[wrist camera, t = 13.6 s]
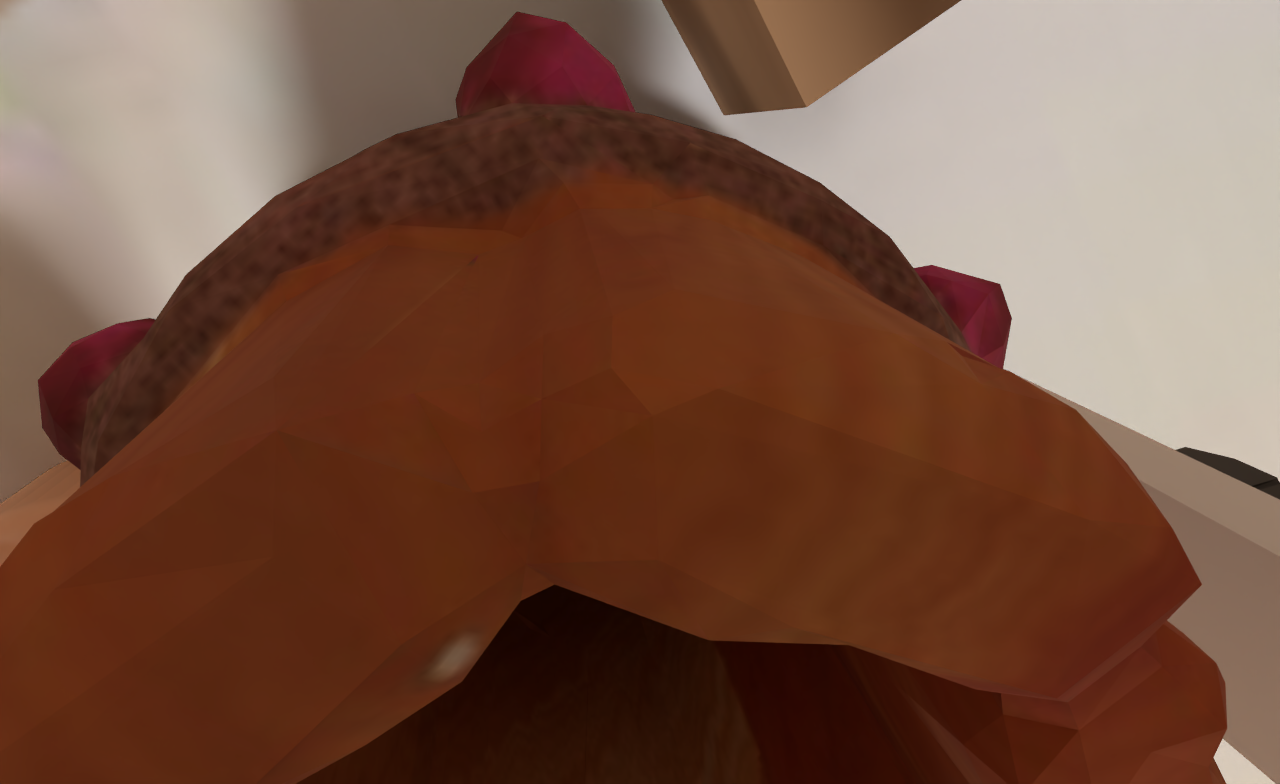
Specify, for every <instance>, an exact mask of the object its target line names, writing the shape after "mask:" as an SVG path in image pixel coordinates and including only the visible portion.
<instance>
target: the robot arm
mask: <svg viewBox="0 0 1280 784" xmlns="http://www.w3.org/2000/svg"><path fill="white" fill-rule="evenodd" d="M1020 378H1021V377H1020ZM1022 379H1023V378H1022ZM1024 380H1026V379H1024ZM1026 381H1027V382H1029V383H1031V384H1032V385H1034V386H1036V387H1038V388H1039V389H1041V390H1043V391H1045V392H1046V393H1048V394H1050V395H1051V396H1053V397H1055V398H1057V399H1058V400H1060V401H1062V402H1063V403H1065V404H1067V405H1069V406H1070V407H1072V408H1074V409H1076V410H1077V411H1078V412H1079V413H1080V414H1081V415H1082V416H1083V417H1084V419H1085V420H1086V421H1087V422H1088V423H1089V424H1090V425H1091V426H1092V427H1093V428H1094V429H1095V430H1096V431H1097V432H1098V433H1099V434H1100V436H1101V437H1102V438H1103V439H1104V440H1105V441H1106V442H1107V443H1108V444H1109V445H1110V446H1111V447H1112V448H1113V449H1114V450H1115V451H1116V453H1117V454H1118V455H1119V456H1120V457H1121V458H1122V459H1123V460H1124V461H1125V462H1126V463H1127V464H1128V466H1129V467H1130V469H1131V470H1132V471H1133V473H1134V474H1135V476H1136V477H1137V479H1138V480H1139V481H1140V483H1141V484H1142V486H1143V487H1144V488H1145V490H1146V491H1147V493H1148V494H1149V496H1150V497H1151V498H1152V500H1153V501H1154V503H1155V504H1156V505H1157V507H1158V508H1159V510H1160V511H1161V513H1162V514H1163V515H1164V517H1165V518H1166V520H1167V521H1168V523H1169V524H1170V525H1171V527H1172V528H1173V530H1174V532H1175V534H1176V536H1177V538H1178V540H1179V542H1180V543H1181V545H1182V547H1183V549H1184V551H1185V553H1186V555H1187V557H1188V559H1189V561H1190V562H1191V564H1192V566H1193V568H1194V570H1195V572H1196V574H1197V576H1198V578H1199V579H1200V581H1201V583H1202V585H1201V586H1200V587H1199V588H1198V589H1197V590H1196V591H1195V592H1194V593H1193V594H1192V595H1191V596H1190V597H1189V598H1188V599H1187V600H1186V601H1185V602H1184V603H1183V605H1182V606H1181V607H1180V608H1179V609H1178V610H1177V611H1176V612H1175V613H1174V614H1173V615H1172V616H1171V617H1170V618H1169V619H1168V620H1167V621H1168V622H1170V623H1171V624H1172V625H1174V626H1175V627H1176V628H1178V629H1179V630H1180V631H1181V632H1183V633H1184V634H1185V635H1186V636H1187V637H1188V638H1189V639H1190V640H1192V641H1193V642H1194V643H1195V644H1196V645H1197V646H1198V647H1199V648H1200V649H1202V650H1203V651H1204V652H1205V653H1206V654H1207V655H1208V656H1209V657H1210V658H1212V659H1213V660H1214V661H1215V662H1216V663H1217V666H1218V668H1219V670H1220V672H1221V674H1222V677H1223V679H1224V681H1225V686H1226V709H1227V730H1226V732H1225V734H1224V736H1223V739H1224V740H1225V741H1226V742H1228V743H1229V744H1230V745H1231V746H1232V747H1234V748H1235V749H1236V750H1237V751H1238V752H1239V753H1241V754H1242V755H1243V756H1244V757H1245V758H1246V759H1248V760H1249V761H1250V762H1251V763H1252V764H1254V765H1255V766H1256V767H1257V768H1258V769H1259V770H1261V771H1262V772H1263V773H1264V774H1265V775H1267V776H1268V777H1269V778H1270V779H1271V780H1272V781H1274V782H1275V783H1276V784H1280V482H1279V481H1278V478H1277V477H1274V476H1272V475H1270V474H1268V473H1265V472H1263V471H1261V470H1259V469H1256V468H1254V467H1252V466H1250V465H1247V464H1245V463H1243V462H1241V461H1238V460H1236V459H1233V458H1229V457H1225V456H1221V455H1216V454H1212V453H1208V452H1204V451H1200V450H1196V449H1191V448H1187V447H1184V448H1181V449H1177V450H1174V449H1172V448H1169V447H1167V446H1165V445H1163V444H1161V443H1159V442H1157V441H1155V440H1152V439H1150V438H1148V437H1146V436H1144V435H1142V434H1140V433H1138V432H1136V431H1133V430H1131V429H1129V428H1127V427H1125V426H1123V425H1121V424H1119V423H1117V422H1114V421H1112V420H1110V419H1108V418H1106V417H1104V416H1102V415H1100V414H1097V413H1095V412H1093V411H1091V410H1089V409H1087V408H1085V407H1083V406H1081V405H1078V404H1076V403H1074V402H1072V401H1070V400H1068V399H1066V398H1064V397H1062V396H1059V395H1057V394H1055V393H1053V392H1051V391H1049V390H1047V389H1045V388H1042V387H1040V386H1038V385H1036V384H1034V383H1032V382H1030V381H1028V380H1026Z"/></svg>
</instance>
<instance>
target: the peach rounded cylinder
mask: <svg viewBox="0 0 1280 784" xmlns="http://www.w3.org/2000/svg"><path fill="white" fill-rule="evenodd" d="M80 472H81V470H79V469H78V468H77V467H76V466H74V465H73V464H72V463H70V462H69V461H68V460H67V461H65V462H63V463H61V464H59V465H57V466H55V467H53V468H51V469H49V470H48V471H46V472H45V473H43V474H42V475H40V476H39V477H37V478H36V479H35V480H33V481H32V482H30V483H29V484H28V485H26V486H25V487H23V488H22V489H21V490H19V491H18V492H16V493H15V494H14V495H12V496H11V497H9V498H8V499H7V500H5V501H4V502H2V503H1V504H0V566H1V565H2V564H3V562H4V561H5V560H6V559H7V557H8V556H9V555H10V553H11V552H12V551H13V550H14V548H15V547H16V546H17V545H18V543H19V542H20V541H21V539H22V538H23V537H24V536H25V534H26V533H27V532H28V530H29V529H30V528H31V527H32V525H33V524H34V523H36V522H37V521H39V520H41V519H42V518H44V517H45V516H47V515H49V514H50V513H52V512H53V511H55V510H56V509H57V508H58V507H59V506H60V505H61V504H62V503H63V502H65V501H66V500H67V499H68V498H69V497H70V496H71V495H72V494H73V493H74V492H76V491H77V490H78V489H79V488H80Z"/></svg>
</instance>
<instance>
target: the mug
mask: <svg viewBox="0 0 1280 784" xmlns="http://www.w3.org/2000/svg"><path fill="white" fill-rule="evenodd" d="M456 107H457V114H458V118H455V119H451V120H448V121H444V122H440V123H436V124H433V125H429V126H425V127H422V128H418V129H414V130H410V131H407V132H403V133H399V134H396V135H394V136H392V137H390V138H388V139H386V140H383V141H381V142H379V143H377V144H375V145H373V146H371V147H369V148H367V149H365V150H363V151H361V152H360V153H358V154H356V155H355V156H353V157H351V158H349V159H347V160H345V161H343V162H341V163H339V164H337V165H335V166H333V167H331V168H329V169H327V170H325V171H324V172H322V173H320V174H318V175H316V176H314V177H312V178H310V179H308V180H306V181H304V182H302V183H300V184H298V185H296V186H294V187H292V188H290V189H288V190H286V191H284V192H282V193H281V194H279V195H277V196H275V197H274V198H273V199H271V200H270V201H269V202H268V203H267V204H266V205H265V206H263V207H262V208H261V209H260V210H259V211H258V212H257V213H256V214H254V215H253V216H252V217H251V218H250V219H249V220H248V221H246V222H245V223H244V224H243V225H242V226H241V227H240V228H239V229H237V230H236V231H235V232H234V233H233V234H232V235H231V236H229V237H228V238H227V239H226V240H225V241H224V242H223V243H222V244H220V245H219V246H218V247H217V248H216V249H215V250H214V251H212V252H211V253H210V254H209V255H208V256H207V257H206V258H205V259H203V260H202V261H201V262H200V263H199V264H198V265H197V266H195V267H194V268H193V269H192V270H191V271H190V272H189V273H188V274H186V276H185V277H184V279H183V280H182V281H181V283H180V284H179V286H178V287H177V289H176V290H175V292H174V293H173V295H172V296H171V298H170V299H169V301H168V302H167V304H166V305H165V307H164V308H163V310H162V311H161V313H160V314H159V316H158V317H157V319H156V320H155V319H151V318H148V319H142V320H136V321H130V322H124V323H118V324H115V325H113V326H110V327H108V328H106V329H103V330H101V331H98V332H96V333H94V334H91V335H89V336H87V337H84V338H82V339H79V340H77V341H75V342H72V344H71V345H70V346H69V347H68V348H67V349H66V350H65V351H64V352H63V353H62V355H61V356H60V357H59V358H58V359H57V360H56V361H55V362H54V363H53V364H52V365H51V367H50V368H49V369H48V370H47V371H46V372H45V373H44V374H43V375H42V376H41V378H40V379H39V380H38V387H39V398H40V408H41V419H42V428H43V429H44V431H45V432H46V434H47V435H48V437H49V439H50V440H51V442H52V443H53V445H54V446H55V448H56V449H57V451H58V452H59V454H60V455H62V456H63V457H64V458H65V459H67V460H68V461H69V462H70V463H72V464H73V465H74V466H76V467H77V468H78V469H79V470H81V472H80V488H79V489H78V490H77V491H76V492H74V493H73V494H72V495H71V496H70V497H69V498H68V499H67V500H66V501H65V502H63V503H62V504H61V505H60V506H59V507H58V508H57V509H56V510H55V511H53V512H52V513H50V514H49V515H47V516H45V517H44V518H42V519H41V520H39V521H37V522H36V523H34V524H33V525H32V527H31V528H30V529H29V530H28V532H27V533H26V534H25V536H24V537H23V538H22V539H21V541H20V542H19V543H18V545H17V546H16V547H15V548H14V550H13V551H12V552H11V553H10V555H9V556H8V557H7V559H6V560H5V561H4V562H3V564H2V565H1V566H0V784H1226V782H1225V780H1224V778H1223V776H1222V774H1221V772H1220V770H1219V768H1218V766H1217V764H1216V762H1215V760H1214V758H1213V757H1214V755H1215V753H1216V751H1217V749H1218V747H1219V745H1220V743H1221V740H1222V738H1223V736H1224V734H1225V732H1226V730H1227V709H1226V686H1225V681H1224V679H1223V677H1222V674H1221V672H1220V670H1219V668H1218V666H1217V663H1216V662H1215V661H1214V660H1213V659H1212V658H1210V657H1209V656H1208V655H1207V654H1206V653H1205V652H1204V651H1203V650H1202V649H1200V648H1199V647H1198V646H1197V645H1196V644H1195V643H1194V642H1193V641H1192V640H1190V639H1189V638H1188V637H1187V636H1186V635H1185V634H1184V633H1183V632H1181V631H1180V630H1179V629H1178V628H1176V627H1175V626H1174V625H1172V624H1171V623H1170V622H1168V621H1167V620H1168V619H1169V618H1170V617H1171V616H1172V615H1173V614H1174V613H1175V612H1176V611H1177V610H1178V609H1179V608H1180V607H1181V606H1182V605H1183V603H1184V602H1185V601H1186V600H1187V599H1188V598H1189V597H1190V596H1191V595H1192V594H1193V593H1194V592H1195V591H1196V590H1197V589H1198V588H1199V587H1200V586H1201V585H1202V583H1201V581H1200V579H1199V578H1198V576H1197V574H1196V572H1195V570H1194V568H1193V566H1192V564H1191V562H1190V561H1189V559H1188V557H1187V555H1186V553H1185V551H1184V549H1183V547H1182V545H1181V543H1180V542H1179V540H1178V538H1177V536H1176V534H1175V532H1174V530H1173V528H1172V527H1171V525H1170V524H1169V523H1168V521H1167V520H1166V518H1165V517H1164V515H1163V514H1162V513H1161V511H1160V510H1159V508H1158V507H1157V505H1156V504H1155V503H1154V501H1153V500H1152V498H1151V497H1150V496H1149V494H1148V493H1147V491H1146V490H1145V488H1144V487H1143V486H1142V484H1141V483H1140V481H1139V480H1138V479H1137V477H1136V476H1135V474H1134V473H1133V471H1132V470H1131V469H1130V467H1129V466H1128V464H1127V463H1126V462H1125V461H1124V460H1123V459H1122V458H1121V457H1120V456H1119V455H1118V454H1117V453H1116V451H1115V450H1114V449H1113V448H1112V447H1111V446H1110V445H1109V444H1108V443H1107V442H1106V441H1105V440H1104V439H1103V438H1102V437H1101V436H1100V434H1099V433H1098V432H1097V431H1096V430H1095V429H1094V428H1093V427H1092V426H1091V425H1090V424H1089V423H1088V422H1087V421H1086V420H1085V419H1084V417H1083V416H1082V415H1081V414H1080V413H1079V412H1078V411H1077V410H1076V409H1074V408H1072V407H1070V406H1069V405H1067V404H1065V403H1063V402H1062V401H1060V400H1058V399H1057V398H1055V397H1053V396H1051V395H1050V394H1048V393H1046V392H1045V391H1043V390H1041V389H1039V388H1038V387H1036V386H1034V385H1032V384H1031V383H1029V382H1027V381H1026V380H1024V379H1022V378H1020V377H1019V376H1017V375H1015V374H1013V373H1012V372H1010V371H1007V370H1004V369H1003V365H1004V360H1005V354H1006V348H1007V343H1008V337H1009V331H1010V325H1011V320H1012V318H1011V315H1010V312H1009V309H1008V306H1007V303H1006V300H1005V297H1004V294H1003V291H1002V289H1001V286H1000V284H998V283H994V282H991V281H987V280H984V279H980V278H976V277H973V276H969V275H966V274H962V273H959V272H955V271H951V270H948V269H944V268H941V267H937V266H933V265H929V266H924V267H918V268H913V267H912V266H911V264H910V263H909V262H908V260H907V259H906V258H905V256H904V255H903V254H902V252H901V251H900V250H899V248H898V247H897V246H896V244H895V243H894V242H893V240H892V239H891V238H890V237H889V236H888V235H887V234H885V233H884V232H883V231H881V230H880V229H879V228H878V227H876V226H875V225H874V224H872V223H871V222H870V221H869V220H867V219H866V218H865V217H863V216H862V215H861V214H860V213H858V212H857V211H856V210H854V209H853V208H852V207H851V206H849V205H848V204H847V203H845V202H844V201H843V200H842V199H840V198H839V197H838V196H836V195H835V194H834V193H833V192H831V191H830V190H829V189H827V188H826V187H825V186H824V185H822V184H821V183H820V182H818V181H816V180H814V179H812V178H810V177H808V176H806V175H804V174H802V173H800V172H798V171H796V170H794V169H792V168H790V167H788V166H786V165H784V164H783V163H781V162H779V161H777V160H775V159H773V158H771V157H769V156H767V155H765V154H763V153H761V152H759V151H757V150H755V149H753V148H751V147H749V146H748V145H746V144H744V143H742V142H740V141H738V140H736V139H732V138H729V137H725V136H722V135H719V134H715V133H712V132H708V131H705V130H701V129H698V128H695V127H691V126H688V125H684V124H681V123H677V122H674V121H670V120H667V119H664V118H660V117H657V116H653V115H649V114H643V113H636V112H635V110H634V108H633V106H632V103H631V101H630V99H629V97H628V95H627V93H626V90H625V88H624V86H623V84H622V82H621V80H620V78H619V75H618V73H617V71H616V69H615V67H614V65H613V64H612V63H611V62H609V61H608V60H607V59H606V58H605V57H604V56H603V55H602V54H601V53H599V52H598V51H597V50H596V49H595V48H594V47H593V46H592V45H591V44H589V43H588V42H587V41H586V40H585V39H584V38H583V37H582V36H581V35H579V34H578V33H577V32H576V31H575V30H574V29H573V28H572V27H571V26H569V25H568V24H567V23H566V22H561V21H557V20H552V19H548V18H543V17H539V16H534V15H530V14H525V13H520V12H516V13H515V14H514V15H513V16H512V18H511V19H510V20H509V21H508V22H507V23H506V24H505V25H504V26H503V28H502V29H501V30H500V31H499V32H498V33H497V34H496V35H495V37H494V38H493V39H492V40H491V41H490V42H489V43H488V44H487V45H486V47H485V48H484V49H483V50H482V51H481V52H480V53H479V54H478V55H477V57H476V58H475V59H474V60H473V61H472V62H471V63H470V64H469V65H468V67H467V68H466V71H465V74H464V77H463V80H462V83H461V85H460V88H459V91H458V94H457V97H456Z"/></svg>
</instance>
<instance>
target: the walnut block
mask: <svg viewBox="0 0 1280 784" xmlns="http://www.w3.org/2000/svg"><path fill="white" fill-rule="evenodd" d="M959 1H961V0H662V2H663V4H664V6H665V8H666V9H667V11H668V13H669V15H670V17H671V19H672V20H673V22H674V24H675V26H676V28H677V30H678V32H679V33H680V35H681V37H682V39H683V41H684V43H685V44H686V46H687V48H688V50H689V52H690V54H691V56H692V57H693V59H694V61H695V63H696V65H697V67H698V68H699V70H700V72H701V74H702V76H703V78H704V80H705V81H706V83H707V85H708V87H709V89H710V91H711V92H712V94H713V96H714V98H715V100H716V102H717V103H718V105H719V107H720V109H721V111H722V113H723V115H731V114H742V113H752V112H762V111H772V110H783V109H793V108H803V107H807V106H809V105H810V104H812V103H813V102H815V101H816V100H818V99H819V98H820V97H822V96H823V95H825V94H826V93H828V92H829V91H831V90H832V89H833V88H835V87H836V86H838V85H839V84H841V83H842V82H844V81H845V80H847V79H848V78H849V77H851V76H852V75H854V74H855V73H857V72H858V71H860V70H861V69H862V68H864V67H865V66H867V65H868V64H870V63H871V62H873V61H874V60H875V59H877V58H878V57H880V56H881V55H883V54H884V53H886V52H887V51H888V50H890V49H891V48H893V47H894V46H896V45H897V44H899V43H900V42H901V41H903V40H904V39H906V38H907V37H909V36H910V35H912V34H913V33H914V32H916V31H917V30H919V29H920V28H922V27H923V26H925V25H926V24H928V23H929V22H930V21H932V20H933V19H935V18H936V17H938V16H939V15H941V14H942V13H943V12H945V11H946V10H948V9H949V8H951V7H952V6H954V5H955V4H956V3H958V2H959Z"/></svg>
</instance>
